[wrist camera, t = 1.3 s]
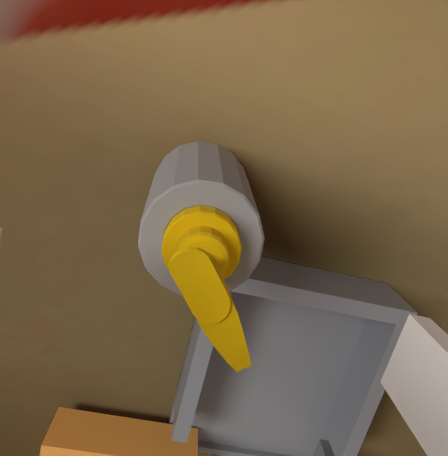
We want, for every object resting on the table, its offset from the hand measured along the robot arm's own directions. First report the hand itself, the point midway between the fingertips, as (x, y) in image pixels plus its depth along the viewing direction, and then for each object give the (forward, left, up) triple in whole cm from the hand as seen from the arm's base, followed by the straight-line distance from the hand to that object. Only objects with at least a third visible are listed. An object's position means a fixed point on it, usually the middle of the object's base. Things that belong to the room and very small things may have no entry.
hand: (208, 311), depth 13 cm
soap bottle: (0, 0, -19) cm, 19 cm away
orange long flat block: (-2, -21, -17) cm, 28 cm away
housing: (+9, -14, -19) cm, 25 cm away
